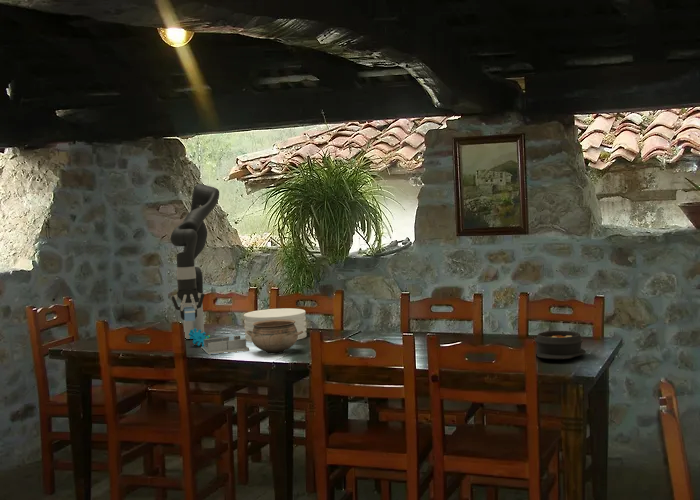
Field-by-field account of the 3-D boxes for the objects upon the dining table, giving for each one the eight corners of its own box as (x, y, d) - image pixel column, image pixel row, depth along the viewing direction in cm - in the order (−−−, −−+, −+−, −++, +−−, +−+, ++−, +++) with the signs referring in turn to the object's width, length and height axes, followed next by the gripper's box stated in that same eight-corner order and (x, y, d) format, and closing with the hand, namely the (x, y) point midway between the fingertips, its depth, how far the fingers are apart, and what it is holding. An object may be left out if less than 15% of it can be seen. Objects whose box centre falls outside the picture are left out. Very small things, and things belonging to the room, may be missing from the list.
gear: (195, 345, 332) (186, 327, 337) (189, 353, 334) (180, 336, 339) (215, 344, 340) (206, 327, 345) (209, 353, 343) (200, 335, 348)
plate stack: (268, 345, 333) (267, 319, 332) (233, 339, 354) (231, 314, 353) (319, 336, 351) (317, 311, 350) (282, 330, 372) (281, 306, 371)
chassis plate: (201, 349, 330) (200, 338, 330) (240, 345, 336) (239, 334, 336) (208, 355, 315) (208, 344, 315) (249, 350, 321) (248, 339, 321)
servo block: (181, 318, 322) (181, 306, 322) (191, 317, 324) (190, 305, 323) (185, 321, 312) (185, 309, 312) (195, 320, 313) (195, 308, 313)
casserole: (580, 365, 264) (579, 341, 264) (526, 362, 273) (525, 339, 272) (591, 351, 287) (590, 328, 286) (540, 349, 295) (539, 327, 295)
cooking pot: (312, 348, 320) (311, 319, 319) (294, 357, 302) (293, 326, 301) (258, 347, 328) (256, 319, 327) (237, 356, 310) (235, 326, 309)
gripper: (202, 275, 322) (204, 316, 323) (167, 278, 317) (170, 319, 318) (205, 277, 315) (207, 318, 316) (170, 279, 310) (172, 322, 311)
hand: (188, 318), depth 317 cm, fingers closed on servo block, 4 cm apart
